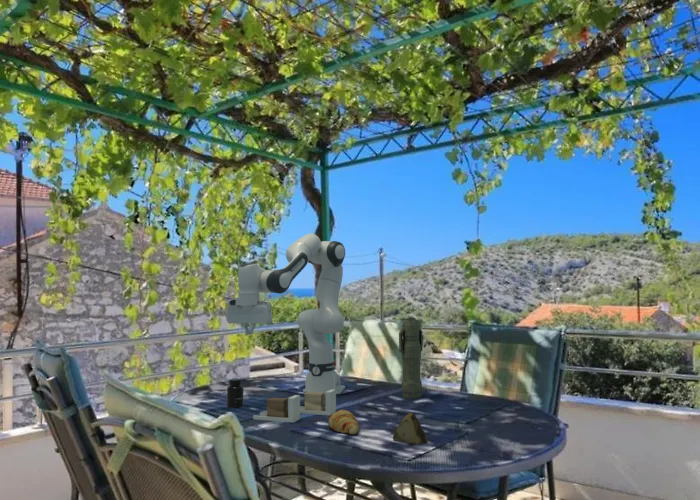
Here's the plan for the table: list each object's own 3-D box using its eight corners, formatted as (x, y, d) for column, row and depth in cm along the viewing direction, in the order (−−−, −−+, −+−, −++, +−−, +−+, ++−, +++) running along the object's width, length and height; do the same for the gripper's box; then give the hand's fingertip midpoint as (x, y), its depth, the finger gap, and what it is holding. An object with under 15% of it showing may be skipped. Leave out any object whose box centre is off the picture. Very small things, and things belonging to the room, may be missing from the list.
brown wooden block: (271, 417, 222) (271, 397, 222) (288, 418, 219) (287, 398, 220) (266, 419, 218) (266, 399, 218) (283, 420, 216) (283, 400, 216)
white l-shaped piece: (297, 411, 234) (297, 387, 235) (336, 414, 228) (335, 389, 229) (291, 415, 229) (290, 390, 229) (330, 418, 223) (330, 392, 223)
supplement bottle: (239, 410, 238) (239, 381, 239) (224, 409, 240) (224, 380, 240) (246, 406, 245) (245, 378, 246) (230, 406, 247) (230, 377, 247)
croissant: (363, 445, 199) (372, 423, 200) (339, 435, 195) (349, 412, 197) (337, 429, 218) (346, 409, 219) (315, 420, 214) (324, 399, 216)
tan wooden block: (308, 410, 232) (308, 391, 232) (324, 411, 229) (324, 392, 229) (304, 412, 228) (304, 393, 228) (320, 414, 226) (320, 394, 226)
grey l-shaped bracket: (260, 418, 224) (260, 392, 225) (300, 421, 218) (299, 395, 219) (253, 421, 219) (252, 395, 220) (293, 425, 213) (293, 398, 214)
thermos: (395, 397, 260) (393, 318, 262) (415, 393, 267) (413, 317, 268) (408, 400, 253) (406, 320, 254) (428, 396, 259) (426, 318, 261)
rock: (383, 434, 191) (401, 436, 183) (394, 410, 195) (412, 412, 187) (406, 450, 195) (425, 453, 186) (416, 426, 199) (435, 428, 190)
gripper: (274, 300, 241) (274, 333, 241) (232, 300, 249) (232, 333, 248) (267, 301, 235) (267, 335, 235) (224, 301, 243) (224, 334, 242)
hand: (249, 334), depth 241 cm, fingers closed
